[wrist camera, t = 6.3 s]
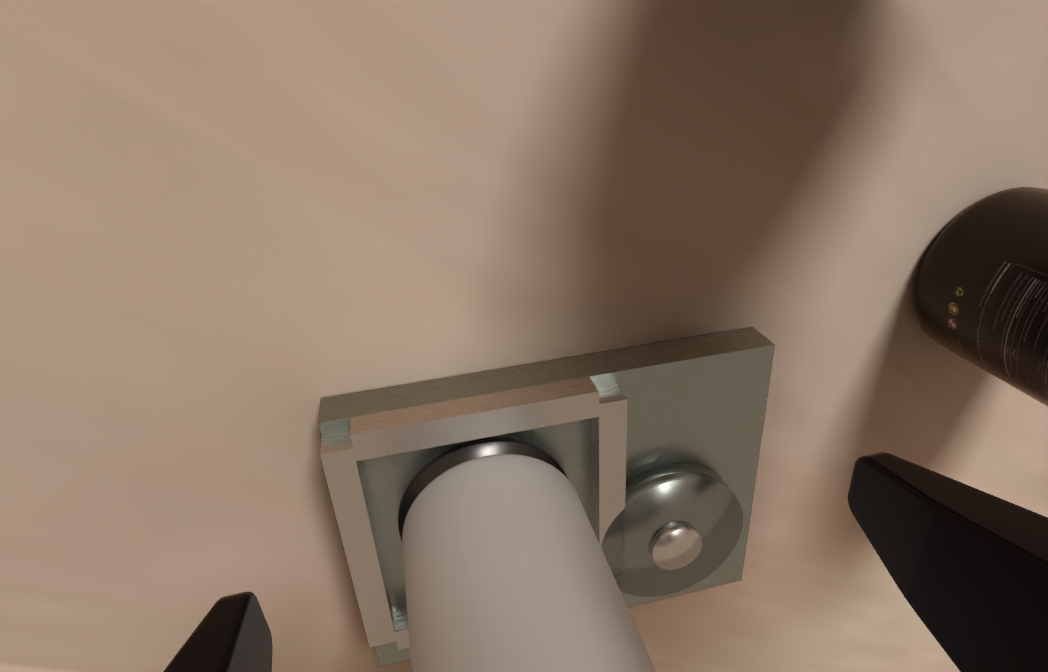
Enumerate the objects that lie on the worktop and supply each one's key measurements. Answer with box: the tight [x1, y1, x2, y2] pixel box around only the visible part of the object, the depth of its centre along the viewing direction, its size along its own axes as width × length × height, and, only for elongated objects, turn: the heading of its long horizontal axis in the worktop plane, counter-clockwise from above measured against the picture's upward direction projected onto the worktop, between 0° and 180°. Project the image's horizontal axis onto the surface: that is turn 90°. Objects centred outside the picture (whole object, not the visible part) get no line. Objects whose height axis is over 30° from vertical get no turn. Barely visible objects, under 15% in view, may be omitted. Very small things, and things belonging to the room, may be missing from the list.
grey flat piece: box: [318, 327, 775, 667], centre depth 24 cm, size 16×12×3 cm
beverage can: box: [402, 454, 656, 672], centre depth 18 cm, size 6×6×12 cm
